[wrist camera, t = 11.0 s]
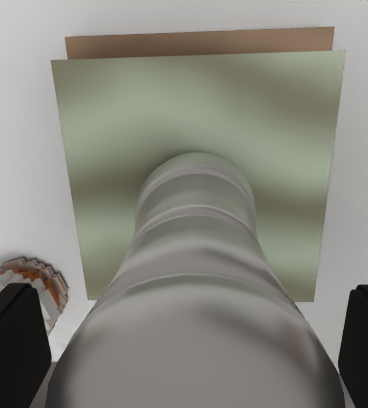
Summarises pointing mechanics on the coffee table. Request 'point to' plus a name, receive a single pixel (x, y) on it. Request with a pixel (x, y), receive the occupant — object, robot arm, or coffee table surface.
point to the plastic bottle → (195, 310)
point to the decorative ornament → (38, 286)
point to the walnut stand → (202, 133)
